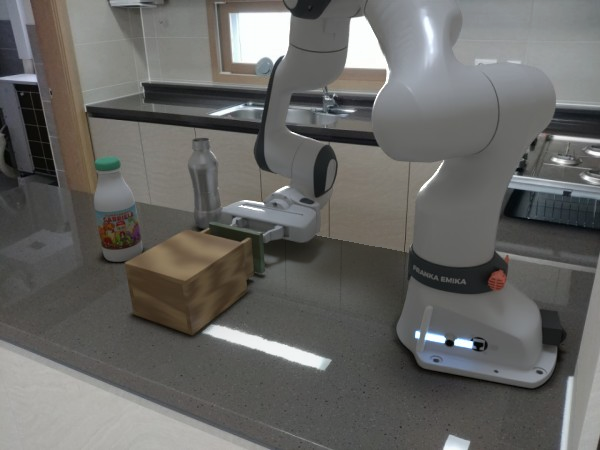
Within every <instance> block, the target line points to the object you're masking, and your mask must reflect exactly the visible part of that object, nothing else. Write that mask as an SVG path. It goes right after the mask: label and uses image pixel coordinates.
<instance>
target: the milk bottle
mask: <svg viewBox="0 0 600 450" xmlns="http://www.w3.org/2000/svg"><path fill="white" fill-rule="evenodd" d="M121 165H122V164H121V159H120V158H119V157H117V156H104V157H99V158H97V159H96V160H94V168H95V172H96V173H97V183H96V188H95V191H94V197H93V207H94V212H95V218H96V224H97V229H98V234H99V235H98V236H99V241H100V245H101V249H102V254H103V257H104V258H105V259H106V260H107V261H109V262H113V263H115V262H117V263H120V262H121V263H122V262H127V261H129V260H131V259H133V258H134V257H136V256H138V255H140V254H142V253H143V250H144V248H143V247H144V246H143V241H142V233H141V228H140V222H139V216H138V210H137V206H136V201H135V197H134V194H133V191H132V190H131V188H130V186H129V185H128V183H127V182H126V180H125V179H124V177H123V175H122V167H121Z"/></svg>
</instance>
